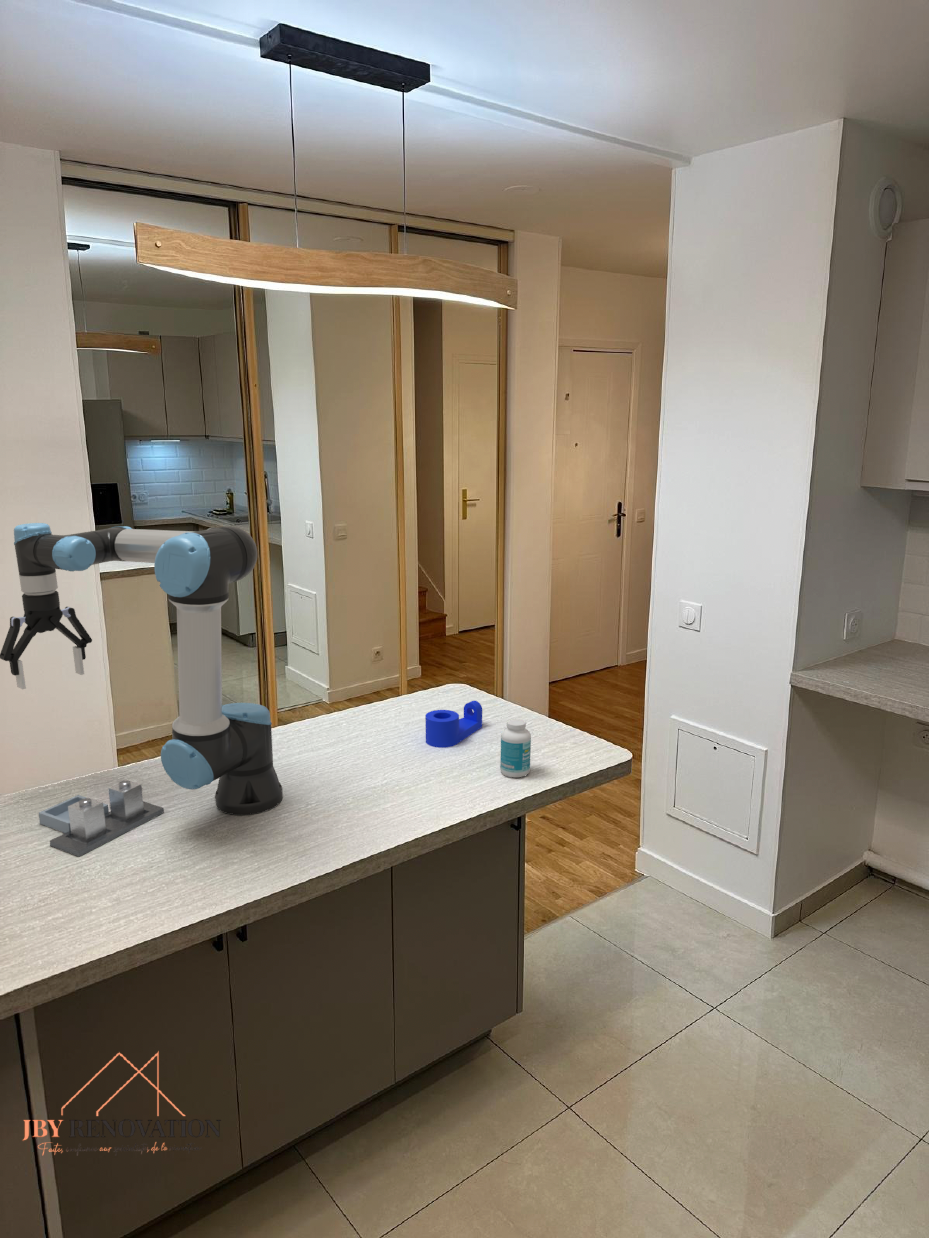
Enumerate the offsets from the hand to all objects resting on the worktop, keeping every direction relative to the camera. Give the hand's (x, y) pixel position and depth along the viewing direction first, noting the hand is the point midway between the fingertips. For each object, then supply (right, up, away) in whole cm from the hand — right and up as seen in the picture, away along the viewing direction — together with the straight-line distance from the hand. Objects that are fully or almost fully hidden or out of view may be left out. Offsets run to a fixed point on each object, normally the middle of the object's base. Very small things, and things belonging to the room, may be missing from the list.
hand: (51, 680), depth 200 cm
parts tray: (+10, -30, -11) cm, 34 cm away
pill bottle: (+109, -24, +13) cm, 113 cm away
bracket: (+94, -18, +37) cm, 103 cm away
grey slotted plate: (+20, -31, -15) cm, 40 cm away
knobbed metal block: (+17, -32, -19) cm, 41 cm away
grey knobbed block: (+22, -30, -11) cm, 39 cm away
